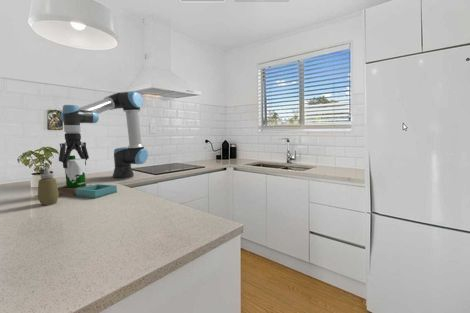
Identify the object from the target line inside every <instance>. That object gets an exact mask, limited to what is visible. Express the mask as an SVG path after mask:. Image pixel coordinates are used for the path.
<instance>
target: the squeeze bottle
mask: <svg viewBox="0 0 470 313" xmlns="http://www.w3.org/2000/svg"><path fill="white" fill-rule="evenodd" d="M37 186H38V188H37V199H38V201H39V203H40V205H42V206H50V205H54V204H57V203H58V198H59V196H60V195H59V193H58V182H57V179H56V178H55V177H54V174H53V173H51V172H50V170H49V167H48V166H45V167H44V168H43V174H41V175H40V179H39V180H38V185H37Z"/></svg>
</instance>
